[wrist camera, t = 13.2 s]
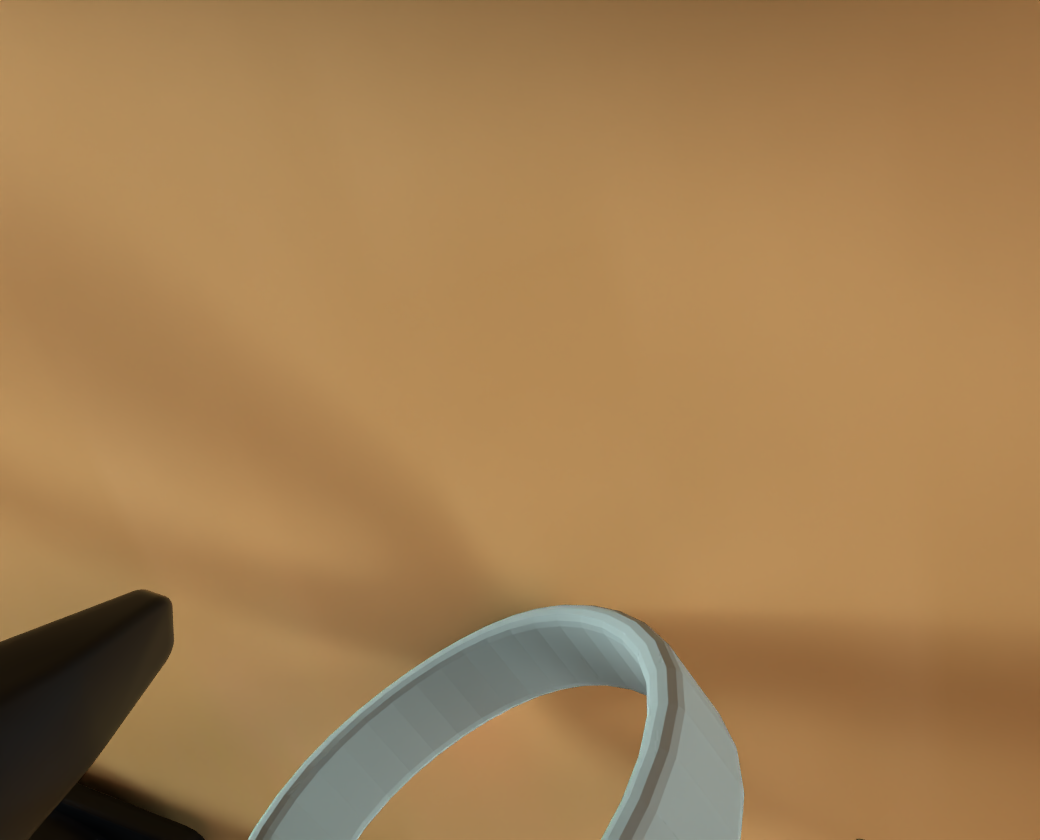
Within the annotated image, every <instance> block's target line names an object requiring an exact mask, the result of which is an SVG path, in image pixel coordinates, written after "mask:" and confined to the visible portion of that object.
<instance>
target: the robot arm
mask: <svg viewBox="0 0 1040 840" xmlns="http://www.w3.org/2000/svg"><path fill="white" fill-rule="evenodd" d="M173 643H174V632H173V609H172V603H171V601H170V599H169V598H167V597H166V596H163V595H160V594H157V593H154V592H151V591H148V590H136V591H133V592H130V593H127V594H125V595H122V596H119V597H117V598H114V599H112V600H109V601H106V602H104V603H101V604H98V605H96V606H93V607H91V608H88V609H85V610H83V611H80V612H77V613H75V614H72V615H70V616H67V617H64V618H62V619H59V620H56V621H54V622H51V623H49V624H46V625H43V626H41V627H38V628H36V629H33V630H30V631H28V632H25V633H22V634H20V635H17V636H15V637H12V638H9V639H7V640H4V641H1V642H0V840H205V839H204V838H203V837H202V836H201V835H200V834H199V833H197V832H196V831H195V830H193V829H191V828H189V827H187V826H185V825H182V824H180V823H177V822H175V821H172V820H170V819H167V818H165V817H162V816H160V815H157V814H155V813H152V812H149V811H147V810H144V809H142V808H139V807H137V806H134V805H132V804H129V803H127V802H124V801H122V800H119V799H117V798H114V797H111V796H109V795H106V794H104V793H101V792H99V791H96V790H94V789H91V788H89V787H86V786H84V785H81V784H78V783H77V782H78V781H79V780H80V778H81V777H82V776H83V775H84V774H85V772H86V771H87V770H88V769H89V768H90V766H91V765H92V764H93V762H94V761H95V760H96V758H97V757H98V756H99V754H100V753H101V752H102V750H103V749H104V748H105V746H106V745H107V743H108V742H109V741H110V739H111V738H112V736H113V735H114V734H115V732H116V731H117V729H118V728H119V727H120V725H121V724H122V722H123V721H124V720H125V718H126V717H127V715H128V714H129V713H130V711H131V710H132V708H133V707H134V706H135V704H136V703H137V701H138V700H139V699H140V697H141V696H142V694H143V693H144V692H145V690H146V689H147V687H148V686H149V685H150V683H151V682H152V680H153V679H154V678H155V676H156V675H157V673H158V672H159V671H160V669H161V668H162V666H163V665H164V664H165V662H166V661H167V659H168V657H169V655H170V653H171V651H172V648H173ZM856 840H863V839H856Z"/></svg>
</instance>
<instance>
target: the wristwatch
mask: <svg viewBox="0 0 1040 840" xmlns="http://www.w3.org/2000/svg"><path fill="white" fill-rule="evenodd" d="M590 685H608V686H613V687H619V688H625V689H631V690H634V691H636V692H639V693H641V694H644V695H647V719H646V724H645V729H644V733H643V738H642V743H641V748H640V752H639V757H638V759H637V762H636V764H635V767H634V770H633V772H632V775H631V777H630V780H629V783H628V785H627V788H626V790H625V793H624V796H623V798H622V801H621V803H620V804H619V806H618V808H617V810H616V812H615V814H614V816H613V818H612V820H611V821H610V823H609V825H608V827H607V829H606V831H605V833H604V835H603V837H602V838H601V840H740V839H741V828H742V816H743V804H744V789H743V783H742V777H741V770H740V764H739V758H738V752H737V749H736V746H735V744H734V742H733V740H732V738H731V736H730V734H729V732H728V730H727V728H726V726H725V724H724V722H723V720H722V718H721V716H720V714H719V713H718V711H717V710H716V709H715V707H714V706H713V705H712V703H711V702H710V700H709V699H708V698H707V696H706V695H705V694H704V692H703V691H702V689H701V688H700V687H699V685H698V684H697V683H696V681H695V680H694V678H693V677H692V676H691V674H690V673H689V672H688V670H687V669H686V667H685V666H684V665H683V663H682V662H681V661H680V659H679V658H678V656H677V655H676V654H675V652H674V651H673V650H672V648H671V647H670V646H669V645H668V644H667V643H666V642H665V641H664V640H663V639H662V638H661V637H660V636H659V635H658V634H657V633H656V632H655V631H654V630H652V629H651V628H650V627H649V626H648V625H646V624H645V623H644V622H642V621H639V620H637V619H635V618H633V617H631V616H629V615H627V614H625V613H623V612H621V611H617V610H612V609H607V608H603V607H598V606H586V605H559V606H552V607H545V608H538V609H534V610H530V611H527V612H523V613H520V614H516V615H512V616H510V617H507V618H505V619H502V620H500V621H497V622H495V623H492V624H490V625H487V626H485V627H483V628H481V629H480V630H478V631H476V632H474V633H472V634H470V635H468V636H466V637H464V638H462V639H460V640H458V641H457V642H455V643H453V644H451V645H450V646H448V647H446V648H445V649H443V650H441V651H440V652H438V653H436V654H435V655H433V656H432V657H430V658H429V659H427V660H425V661H424V662H422V663H421V664H419V665H418V666H416V667H415V668H413V669H412V670H410V671H409V672H407V673H406V674H405V675H403V676H402V677H401V678H399V679H398V680H396V681H395V682H394V683H392V684H391V685H390V686H388V687H387V688H385V689H384V690H383V691H382V692H380V693H379V694H378V695H377V696H375V697H374V698H373V699H372V700H370V701H369V702H368V703H367V704H365V705H364V706H363V707H362V708H360V709H359V710H358V711H357V712H356V713H354V714H353V715H352V716H351V717H350V718H349V719H348V720H347V721H346V722H344V723H343V724H342V725H341V726H340V727H339V728H338V729H337V730H336V731H334V732H333V733H332V734H331V735H330V736H329V737H328V738H327V739H326V740H325V741H324V742H323V743H322V744H321V745H320V746H319V747H318V748H317V749H316V751H315V752H314V753H313V754H312V755H311V756H310V757H309V758H308V759H307V760H306V761H305V762H304V763H303V764H302V765H301V767H300V768H299V769H298V770H297V771H296V773H295V774H294V775H293V776H292V777H291V779H290V780H289V781H288V782H287V783H286V785H285V786H284V787H283V788H282V790H281V791H280V792H279V793H278V795H277V796H276V797H275V799H274V800H273V802H272V803H271V805H270V806H269V807H268V809H267V810H266V812H265V813H264V815H263V816H262V818H261V819H260V820H259V822H258V823H257V825H256V826H255V828H254V829H253V831H252V833H251V835H250V836H249V838H248V840H357V839H358V838H359V836H360V835H361V834H362V832H363V831H364V829H365V828H366V826H367V825H368V824H369V823H370V822H371V820H372V819H373V818H374V817H375V816H376V815H377V813H378V812H379V811H380V810H381V809H382V808H383V806H384V805H385V804H386V803H387V802H388V801H389V799H390V798H391V797H392V796H393V795H395V794H396V793H397V792H398V791H399V790H400V789H401V788H402V787H403V786H404V785H405V784H406V783H407V782H408V781H409V780H410V779H411V778H412V777H413V776H414V775H415V774H416V773H417V772H419V771H420V770H421V769H422V768H423V767H425V766H426V765H427V764H428V763H429V762H431V761H432V760H433V759H434V758H435V757H436V756H438V755H439V754H440V753H442V752H443V751H444V750H446V749H447V748H448V747H450V746H451V745H453V744H454V743H455V742H457V741H458V740H459V739H461V738H462V737H464V736H465V735H467V734H468V733H470V732H471V731H473V730H475V729H476V728H478V727H479V726H481V725H482V724H484V723H485V722H487V721H489V720H491V719H493V718H494V717H496V716H498V715H500V714H502V713H504V712H505V711H507V710H509V709H511V708H513V707H515V706H518V705H520V704H522V703H524V702H527V701H529V700H531V699H534V698H536V697H539V696H542V695H545V694H548V693H552V692H555V691H558V690H561V689H567V688H573V687H579V686H590Z"/></svg>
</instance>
